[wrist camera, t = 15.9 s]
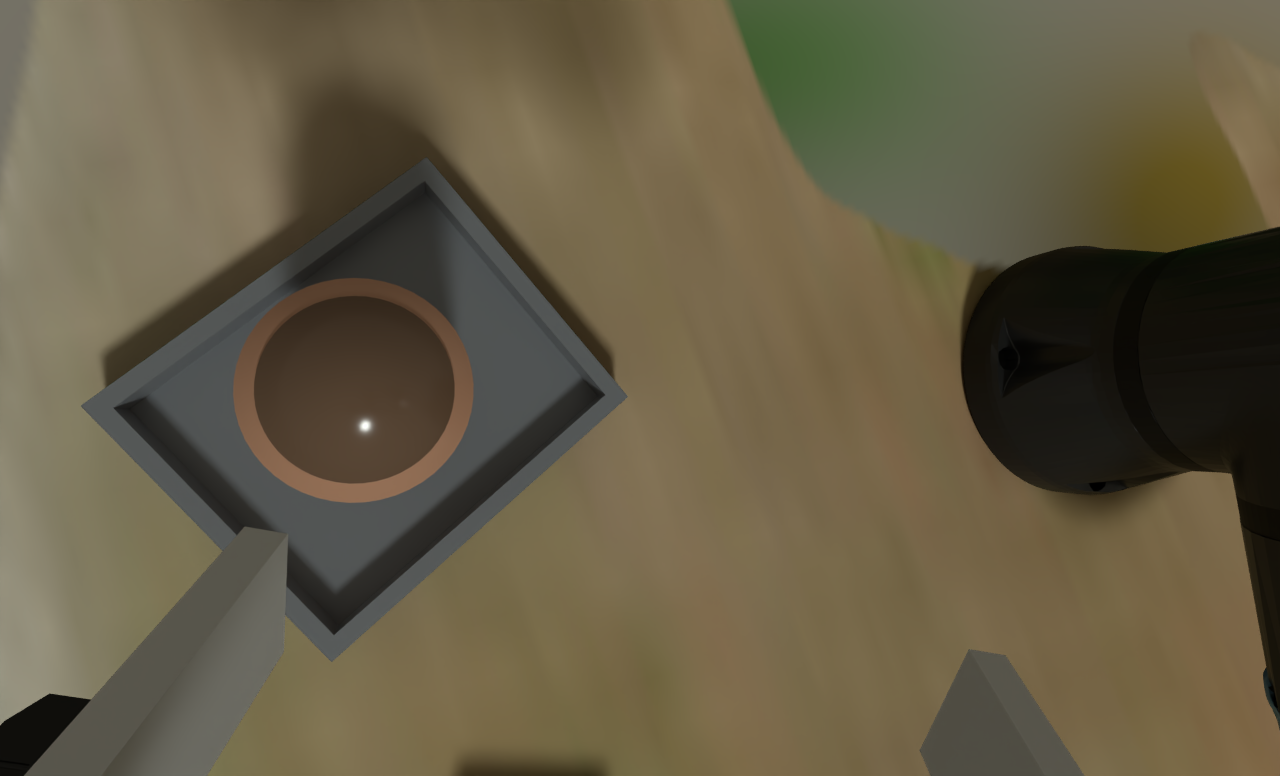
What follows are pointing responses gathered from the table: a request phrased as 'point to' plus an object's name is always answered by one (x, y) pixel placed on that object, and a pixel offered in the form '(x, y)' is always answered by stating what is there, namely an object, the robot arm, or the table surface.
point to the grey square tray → (424, 515)
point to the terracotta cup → (353, 390)
